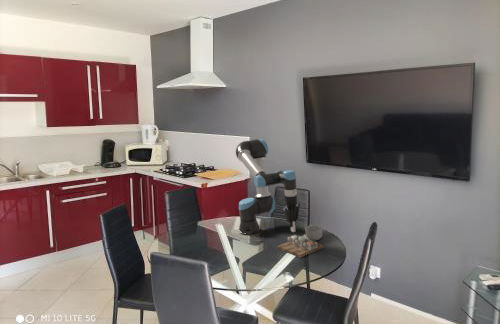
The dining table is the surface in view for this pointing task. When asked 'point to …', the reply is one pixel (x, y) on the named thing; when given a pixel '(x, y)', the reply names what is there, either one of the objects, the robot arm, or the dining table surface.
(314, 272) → the dining table surface
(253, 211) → the robot arm
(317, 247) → the button board
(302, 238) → the button two
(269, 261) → the dining table surface
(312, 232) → the teacup
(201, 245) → the dining table surface
